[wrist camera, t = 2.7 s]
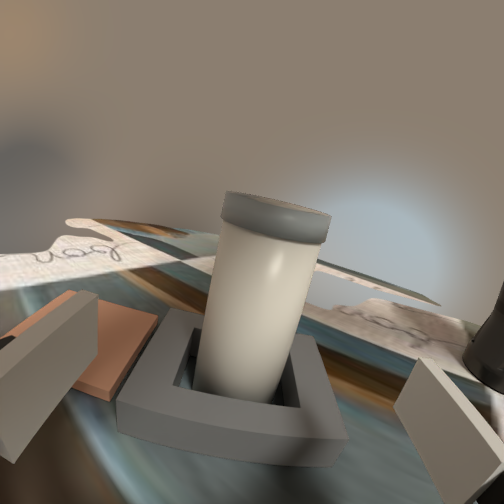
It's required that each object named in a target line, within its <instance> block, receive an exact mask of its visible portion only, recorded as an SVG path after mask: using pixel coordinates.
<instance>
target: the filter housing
mask: <svg viewBox="0 0 504 504" xmlns="http://www.w3.org/2000/svg"><path fill="white" fill-rule="evenodd" d="M204 316H205V315H201V314H197V313H192V312H188V311H184V310H180V309H175V308H170V309H169V311H168V313H167V314H166V316H165V318H164V319H163V321H162V322H161V324H160V326H159V327H158V329H157V331H156V332H155V334H154V336H153V337H152V339H151V341H150V342H149V344H148V346H147V347H146V349H145V351H144V352H143V354H142V356H141V357H140V359H139V361H138V362H137V364H136V366H135V367H134V369H133V371H132V372H131V374H130V376H129V378H128V379H127V381H126V383H125V384H124V386H123V388H122V390H121V391H120V393H119V395H118V397H117V398H116V414H117V428H118V432H120V433H123V434H126V435H129V436H132V437H135V438H139V439H142V440H145V441H149V442H152V443H156V444H160V445H164V446H167V447H171V448H175V449H180V450H184V451H188V452H193V453H198V454H203V455H208V456H213V457H219V458H225V459H231V460H238V461H245V462H253V463H262V464H271V465H283V466H299V467H332V466H333V464H334V463H335V461H336V460H337V458H338V457H339V455H340V454H341V452H342V450H343V449H344V447H345V446H346V444H347V442H348V441H349V437H348V434H347V431H346V428H345V425H344V422H343V419H342V416H341V414H340V411H339V408H338V405H337V402H336V399H335V396H334V393H333V390H332V387H331V385H330V382H329V379H328V376H327V373H326V370H325V367H324V365H323V362H322V359H321V356H320V353H319V351H318V348H317V345H316V342H315V340H314V337H313V336H309V335H303V334H297V333H295V336H294V339H293V342H292V345H291V348H290V352H289V355H288V358H287V361H286V364H285V367H284V370H283V373H282V376H281V384H282V392H283V400H284V406H278V405H270V404H263V403H257V402H251V401H244V400H239V399H233V398H228V397H222V396H217V395H212V394H208V393H203V392H198V391H194V390H190V389H185V388H181V387H179V385H180V382H181V379H182V376H183V373H184V370H185V367H186V364H187V362H188V359H189V356H194V357H197V356H198V350H199V344H200V339H201V333H202V327H203V322H204Z"/></svg>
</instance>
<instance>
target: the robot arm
mask: <svg viewBox="0 0 504 504" xmlns="http://www.w3.org/2000/svg"><path fill="white" fill-rule="evenodd" d="M97 354H98V294H95V293H92V292H89V291H85V290H80V291H79V292H78V293H76V294H75V295H73V296H72V297H70V298H69V299H68V300H66V301H65V302H63V303H62V304H61V305H59V306H58V307H56V308H55V309H54V310H52V311H51V312H50V313H48V314H47V315H46V316H44V317H43V318H41V319H40V320H39V321H37V322H36V323H35V324H33V325H32V326H31V327H29V328H28V329H27V330H25V331H24V332H23V333H22V334H20V335H19V336H18V337H15V336H13V335H10V336H7V337H4V338H2V339H0V456H2V457H3V458H5V459H6V460H8V461H10V462H11V463H13V464H14V463H15V462H16V460H17V459H18V457H19V456H20V455H21V453H22V452H23V450H24V449H25V448H26V446H27V445H28V443H29V442H30V441H31V439H32V438H33V437H34V435H35V434H36V432H37V431H38V430H39V428H40V427H41V426H42V424H43V423H44V422H45V420H46V419H47V418H48V416H49V415H50V414H51V412H52V411H53V410H54V409H55V407H56V406H57V405H58V403H59V402H60V401H61V400H62V398H63V397H64V396H65V394H66V393H67V392H68V391H69V389H70V388H71V387H72V385H73V384H74V383H75V382H76V380H77V379H78V378H79V377H80V375H81V374H82V373H83V372H84V370H85V369H86V368H87V367H88V365H89V364H90V363H91V362H92V361H93V359H94V358H95V357H96V356H97ZM463 360H464V363H465V364H466V366H467V367H468V369H469V370H470V371H471V372H472V373H473V374H474V375H475V376H476V377H477V378H479V379H480V380H481V381H483V382H484V383H485V384H487V385H488V386H490V387H492V388H493V389H495V390H497V391H499V392H501V393H504V282H503V285H502V288H501V291H500V293H499V296H498V299H497V302H496V304H495V307H494V310H493V312H492V313H491V315H490V316H489V317H488V319H487V320H486V321H485V323H484V324H483V325H482V326H481V328H480V329H479V330H478V332H477V333H476V334H475V336H474V337H473V338H472V339H471V340H470V341H469V343H468V345H467V347H466V349H465V351H464V353H463ZM393 408H394V410H395V411H396V413H397V415H398V417H399V419H400V420H401V422H402V424H403V426H404V428H405V429H406V431H407V433H408V435H409V437H410V439H411V440H412V442H413V444H414V446H415V448H416V450H417V452H418V454H419V455H420V457H421V459H422V461H423V463H424V465H425V467H426V469H427V471H428V473H429V474H430V476H431V478H432V480H433V482H434V484H435V486H436V488H437V490H438V492H439V494H440V496H441V498H442V500H443V502H444V504H473V503H474V502H475V501H477V503H478V504H504V442H503V441H502V440H501V439H500V438H499V436H498V435H497V434H496V432H494V431H493V429H492V427H491V426H490V425H489V424H488V423H487V422H486V421H485V419H484V418H483V417H482V416H481V415H480V413H479V412H478V411H477V410H476V409H475V407H474V406H473V405H472V404H471V403H470V402H469V400H468V399H467V398H466V397H465V396H464V394H463V393H462V392H461V391H460V390H459V389H458V388H457V386H456V385H455V384H454V383H453V382H452V381H451V380H450V378H449V377H448V376H447V375H446V374H445V373H444V372H443V370H442V369H441V368H440V367H439V366H438V365H437V364H436V363H435V362H434V360H433V359H432V358H421V357H419V358H418V360H417V362H416V364H415V366H414V368H413V370H412V372H411V374H410V376H409V378H408V380H407V382H406V384H405V386H404V388H403V390H402V392H401V393H400V395H399V397H398V399H397V401H396V402H395V404H394V406H393Z"/></svg>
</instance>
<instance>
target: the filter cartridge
mask: <svg viewBox="0 0 504 504" xmlns="http://www.w3.org/2000/svg"><path fill="white" fill-rule="evenodd" d="M221 218H222V219H223V224H222V229H221V234H220V238H219V243H218V248H217V253H216V258H215V263H214V268H213V274H212V279H211V284H210V289H209V295H208V300H207V305H206V311H205V316H204V322H203V327H202V333H201V339H200V344H199V350H198V356H197V362H196V368H195V374H194V380H193V386H192V390H194V391H198V392H203V393H208V394H212V395H217V396H222V397H228V398H233V399H239V400H244V401H251V402H257V403H263V404H270V405H271V404H272V401H273V399H274V396H275V393H276V390H277V387H278V384H279V381H280V379H281V376H282V373H283V370H284V367H285V364H286V361H287V358H288V355H289V352H290V348H291V345H292V342H293V339H294V336H295V333H296V330H297V326H298V323H299V320H300V317H301V313H302V310H303V307H304V303H305V300H306V297H307V293H308V290H309V286H310V283H311V279H312V276H313V272H314V269H315V265H316V262H317V258H318V254H319V250H320V247H321V243H324V242H325V240H326V236H327V233H328V229H329V225H330V221H331V216H330V215H328V214H325V213H322V212H319V211H316V210H313V209H309V208H306V207H302V206H299V205H295V204H291V203H287V202H283V201H279V200H275V199H270V198H265V197H261V196H256V195H251V194H245V193H239V192H232V191H226V194H225V199H224V203H223V208H222V213H221Z"/></svg>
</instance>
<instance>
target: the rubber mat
mask: <svg viewBox="0 0 504 504" xmlns="http://www.w3.org/2000/svg"><path fill="white" fill-rule="evenodd" d="M76 293H78V292H74V291H71V290H68V291H66V292H65V293H63V294H62V295H60V296H59V297H57V298H56V299H54V300H53V301H51V302H50V303H49V304H47V305H46V306H44V307H43V308H41V309H40V310H38V311H37V312H36V313H34V314H33V315H31V316H30V317H29V318H27V319H26V320H24V321H23V322H22V323H20V324H19V325H17V326H16V327H15V328H13V329H12V330H11V331H9V332H8V333H7V334H5V335H4V336H3V337H1V338H0V339H2V338H4V337H7V336H10V335H13V336H15V337H18V336H19V335H20V334H22V333H23V332H24V331H25V330H27V329H28V328H29V327H31V326H32V325H33V324H35V323H36V322H37V321H39V320H40V319H41V318H43V317H44V316H46V315H47V314H48V313H50V312H51V311H52V310H54V309H55V308H56V307H58V306H59V305H61V304H62V303H63V302H65V301H66V300H68V299H69V298H70V297H72V296H73V295H75V294H76ZM157 322H158V315H154V314H150V313H146V312H143V311H139V310H135V309H132V308H128V307H124V306H121V305H117V304H114V303H110V302H107V301H104V300H100V299H98V354H97V356H96V357H95V358H94V359H93V361H92V362H91V363H90V364H89V365H88V367H87V368H86V369H85V370H84V372H83V373H82V374H81V375H80V377H79V378H78V379H77V380H76V382H75V383H74V384H73V385H72V388H74V389H77V390H79V391H82V392H84V393H87V394H90V395H92V396H95V397H98V398H100V399H103V400H106V401H109V402H110V401H111V399H112V397H113V395H114V394H115V392H116V390H117V389H118V387H119V385H120V384H121V382H122V380H123V379H124V377H125V375H126V374H127V372H128V370H129V369H130V367H131V365H132V364H133V362H134V361H135V359H136V357H137V356H138V354H139V352H140V351H141V349H142V348H143V346H144V344H145V343H146V341H147V340H148V338H149V336H150V335H151V333H152V332H153V330H154V328H155V327H156V325H157Z"/></svg>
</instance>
